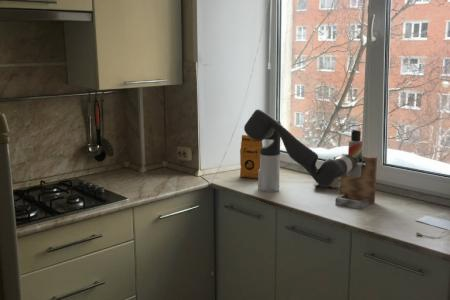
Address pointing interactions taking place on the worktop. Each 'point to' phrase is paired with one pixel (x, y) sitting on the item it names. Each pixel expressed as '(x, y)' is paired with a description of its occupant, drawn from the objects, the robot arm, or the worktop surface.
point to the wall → (333, 184)
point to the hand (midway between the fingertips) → (356, 158)
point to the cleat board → (359, 187)
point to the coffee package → (250, 157)
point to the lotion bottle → (355, 152)
